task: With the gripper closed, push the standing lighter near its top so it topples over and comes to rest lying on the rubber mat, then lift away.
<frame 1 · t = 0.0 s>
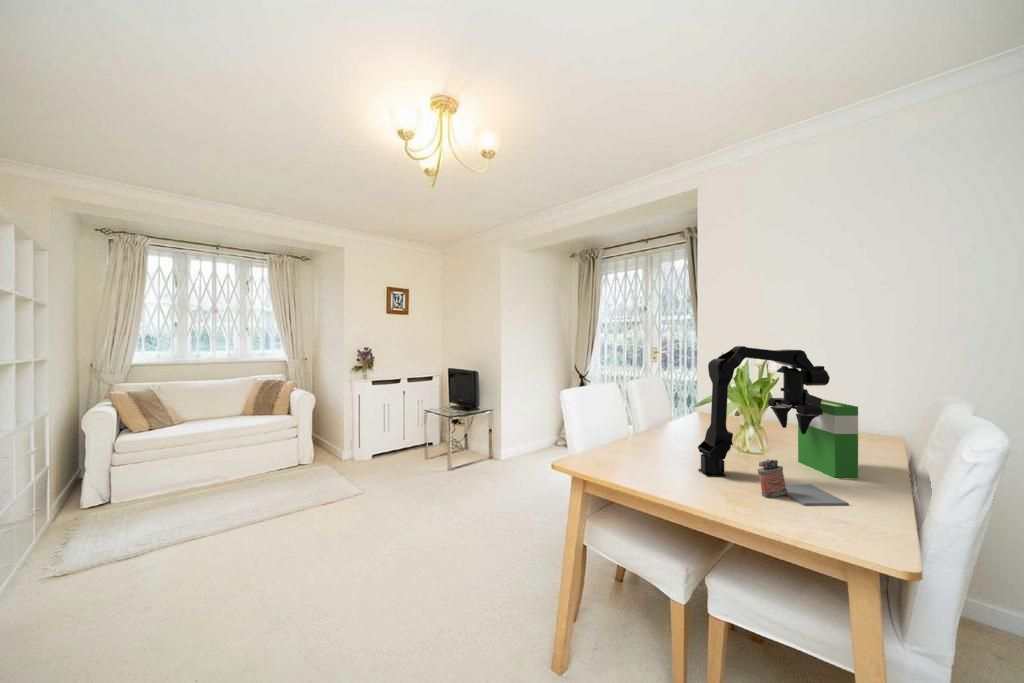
hand: (793, 430, 135), 15 cm above the table, tool pointing down, fingers open, 9 cm apart
mat: (807, 495, 116), on the table
lighter: (774, 494, 116), on the table
hardback book: (826, 470, 138), on the table
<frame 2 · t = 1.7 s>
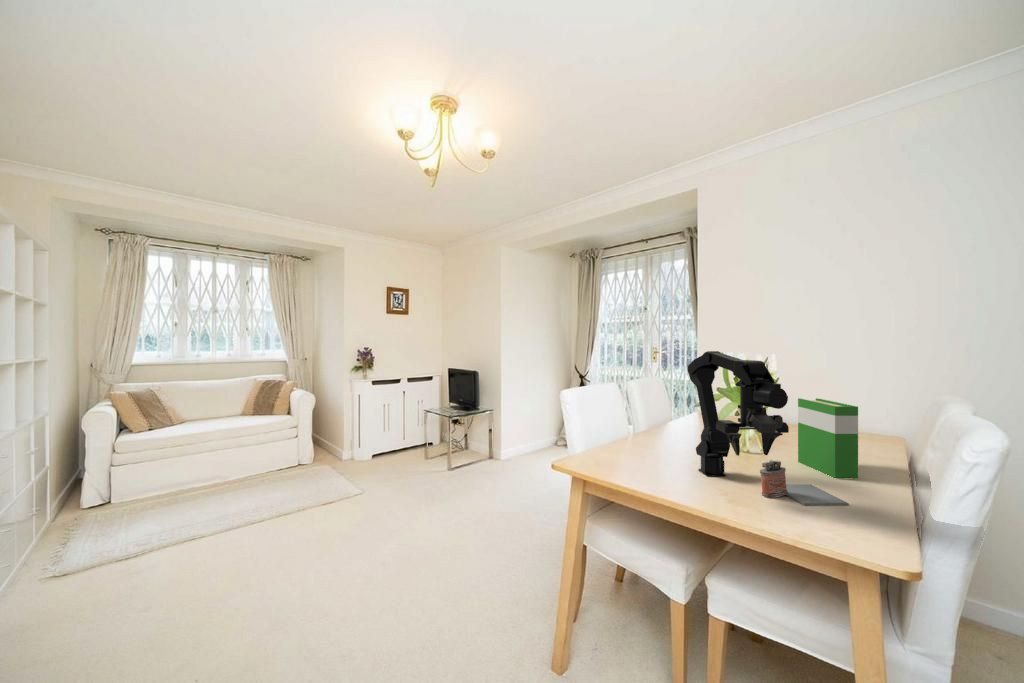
hand: (751, 455, 116), 12 cm above the table, tool pointing down, fingers open, 8 cm apart
lighter: (774, 494, 116), on the table, touching mat
everything else where it was.
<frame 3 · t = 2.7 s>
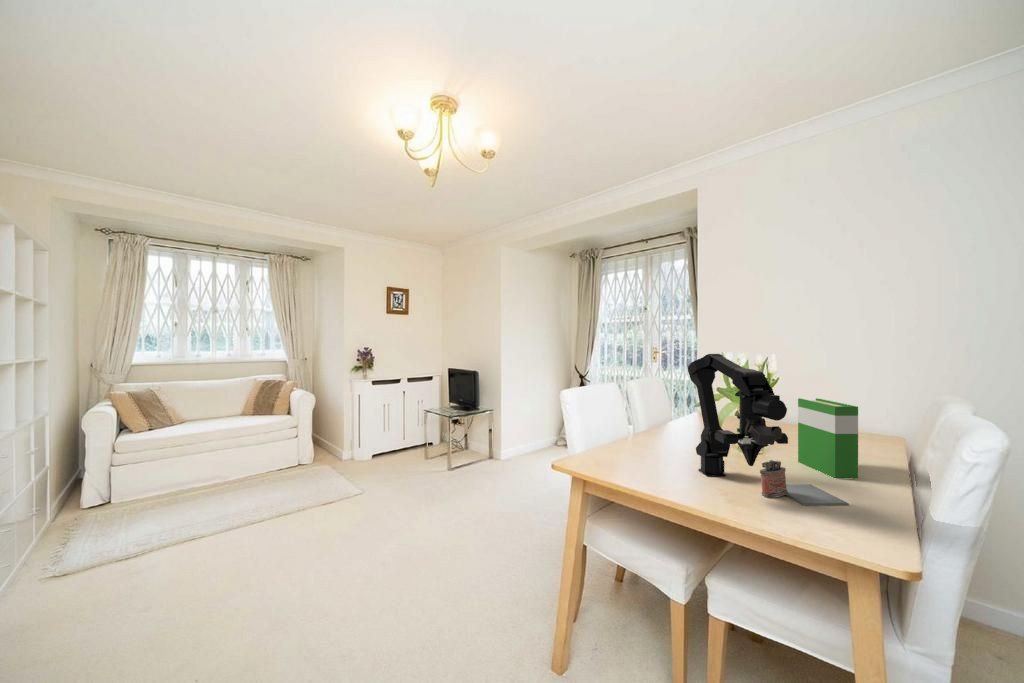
hand: (750, 465, 116), 9 cm above the table, tool pointing down, fingers closed
nothing on the table moved.
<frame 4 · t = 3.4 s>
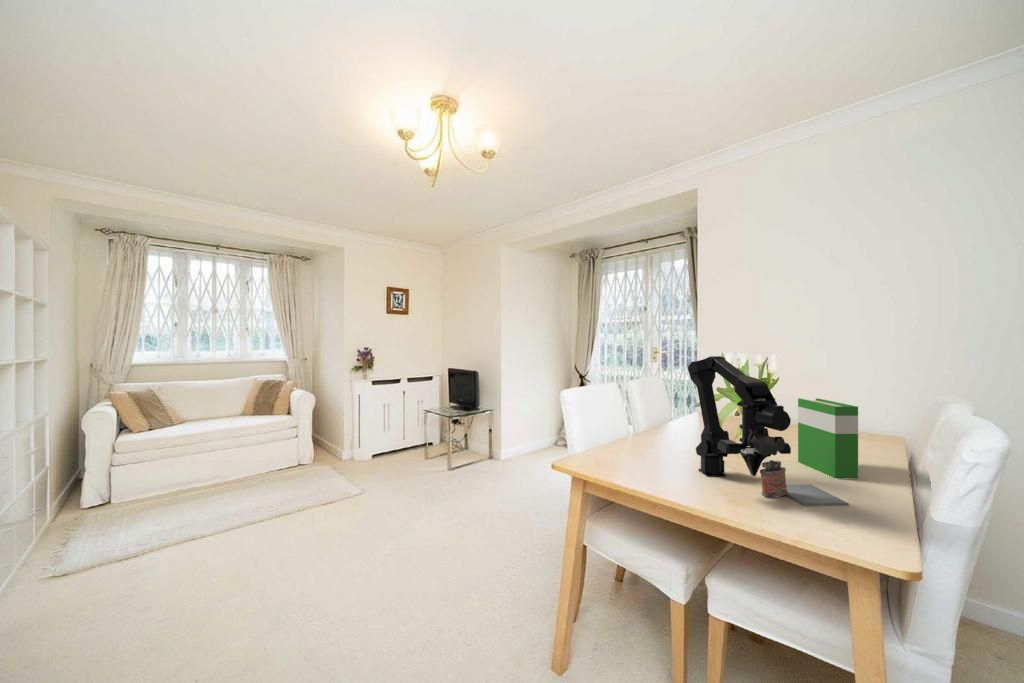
hand: (753, 475, 116), 6 cm above the table, tool pointing down, fingers closed
lighter: (774, 494, 116), on the table, touching gripper, mat
everything else where it was.
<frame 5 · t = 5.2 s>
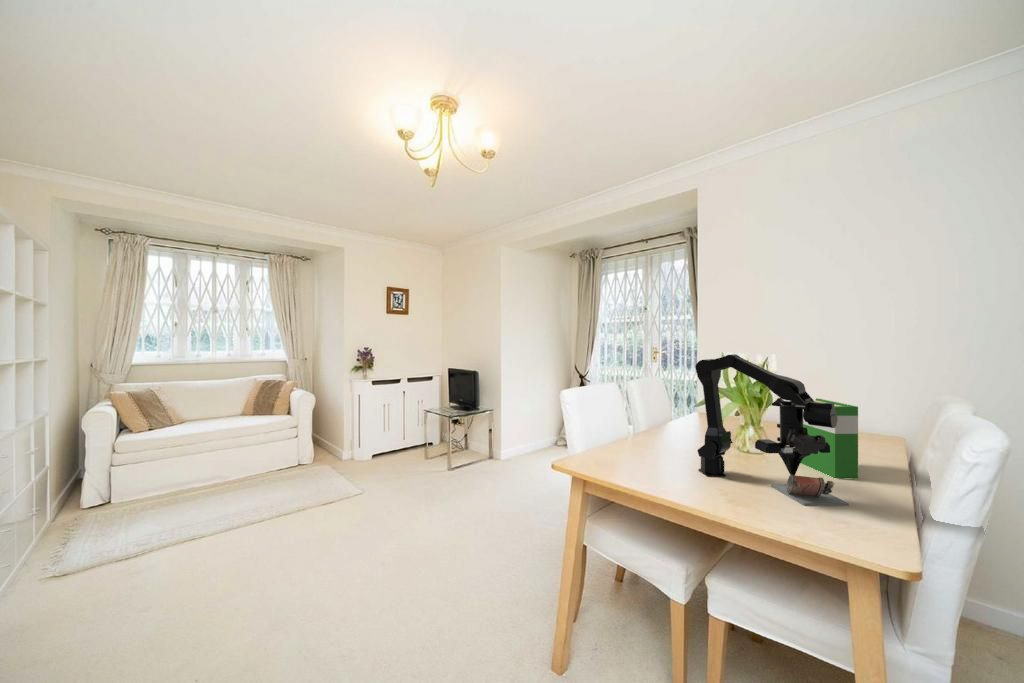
hand: (792, 474, 116), 6 cm above the table, tool pointing down, fingers closed
lighter: (788, 484, 114), point 4 cm above the table
everything else where it was.
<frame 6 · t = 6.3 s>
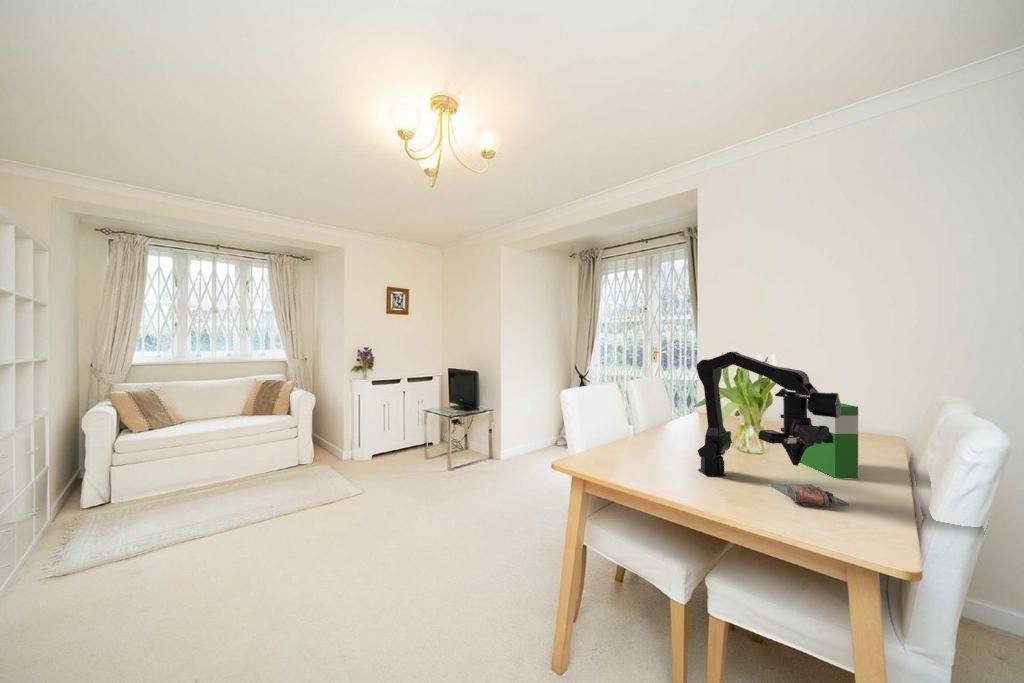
hand: (795, 465, 116), 9 cm above the table, tool pointing down, fingers closed
lighter: (790, 492, 112), point 2 cm above the table, touching mat
everything else where it was.
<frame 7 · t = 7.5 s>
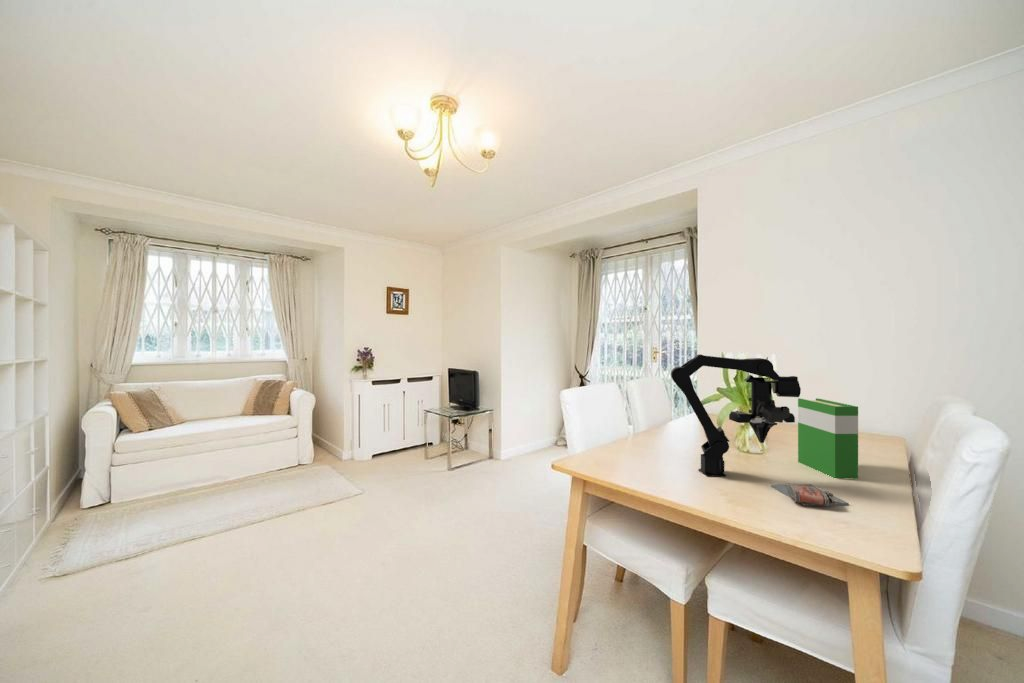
hand: (761, 442, 130), 12 cm above the table, tool pointing down, fingers closed
nothing on the table moved.
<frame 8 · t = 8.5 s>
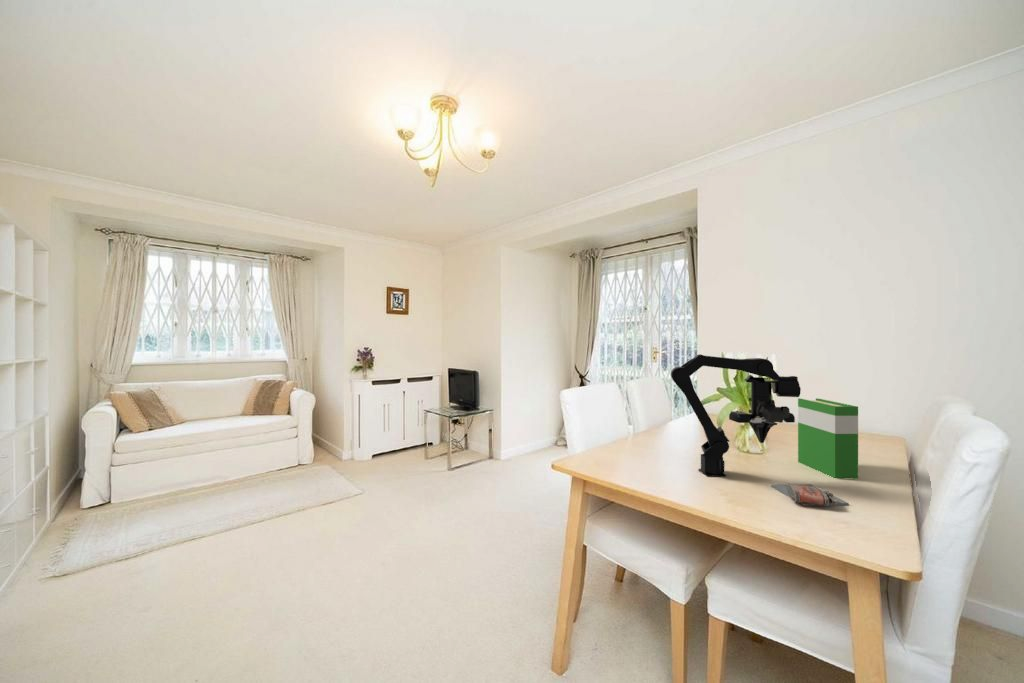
hand: (761, 442, 130), 12 cm above the table, tool pointing down, fingers closed
nothing on the table moved.
at the end: lighter tilted 90°; lighter touching mat; the gripper is holding nothing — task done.
